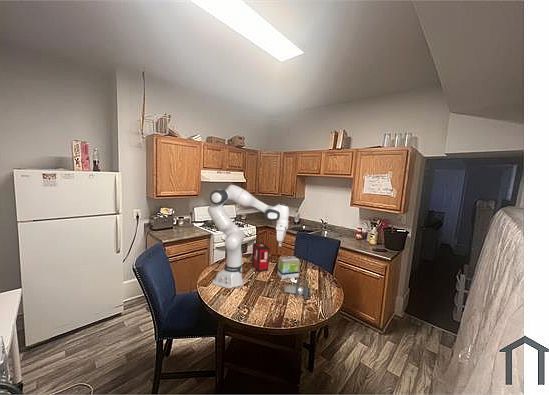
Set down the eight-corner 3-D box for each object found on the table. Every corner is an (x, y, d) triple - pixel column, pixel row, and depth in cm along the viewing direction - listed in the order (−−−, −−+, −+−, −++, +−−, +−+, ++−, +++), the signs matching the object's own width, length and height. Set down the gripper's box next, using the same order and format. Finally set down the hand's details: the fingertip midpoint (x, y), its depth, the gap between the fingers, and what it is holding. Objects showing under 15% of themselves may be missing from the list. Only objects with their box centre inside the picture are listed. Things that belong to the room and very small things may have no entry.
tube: (284, 293, 156) (284, 288, 154) (285, 288, 161) (285, 282, 159) (309, 297, 153) (310, 292, 151) (310, 292, 158) (310, 286, 156)
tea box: (282, 279, 176) (283, 261, 174) (277, 274, 185) (278, 257, 183) (298, 277, 181) (300, 259, 180) (293, 272, 191) (294, 255, 189)
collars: (295, 296, 152) (296, 284, 151) (296, 289, 162) (297, 277, 161) (310, 299, 150) (311, 286, 149) (311, 291, 160) (312, 279, 159)
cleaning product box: (268, 270, 190) (269, 248, 188) (258, 272, 186) (259, 249, 184) (261, 263, 205) (262, 242, 203) (251, 264, 201) (253, 243, 199)
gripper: (280, 222, 174) (279, 239, 176) (275, 228, 154) (274, 247, 156) (288, 223, 173) (287, 240, 175) (284, 229, 153) (283, 248, 155)
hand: (281, 244), depth 165 cm, fingers open, 8 cm apart
